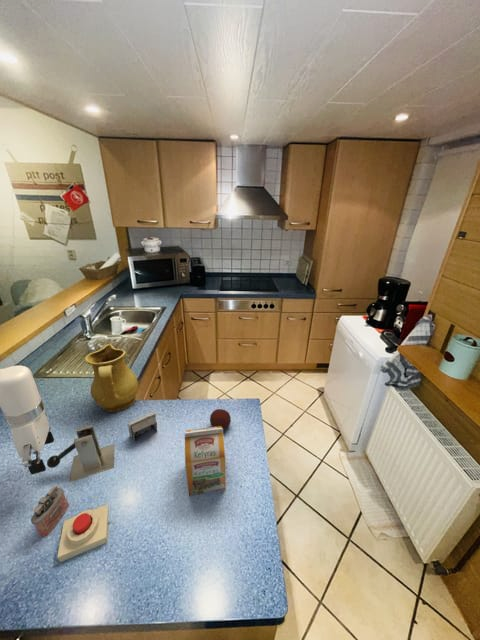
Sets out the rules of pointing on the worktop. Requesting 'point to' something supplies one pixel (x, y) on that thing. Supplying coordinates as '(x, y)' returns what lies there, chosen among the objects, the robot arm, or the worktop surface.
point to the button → (82, 523)
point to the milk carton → (205, 460)
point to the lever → (64, 452)
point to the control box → (84, 534)
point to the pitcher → (112, 379)
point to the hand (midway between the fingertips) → (43, 456)
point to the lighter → (50, 511)
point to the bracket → (90, 455)
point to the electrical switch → (142, 425)
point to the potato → (220, 418)
